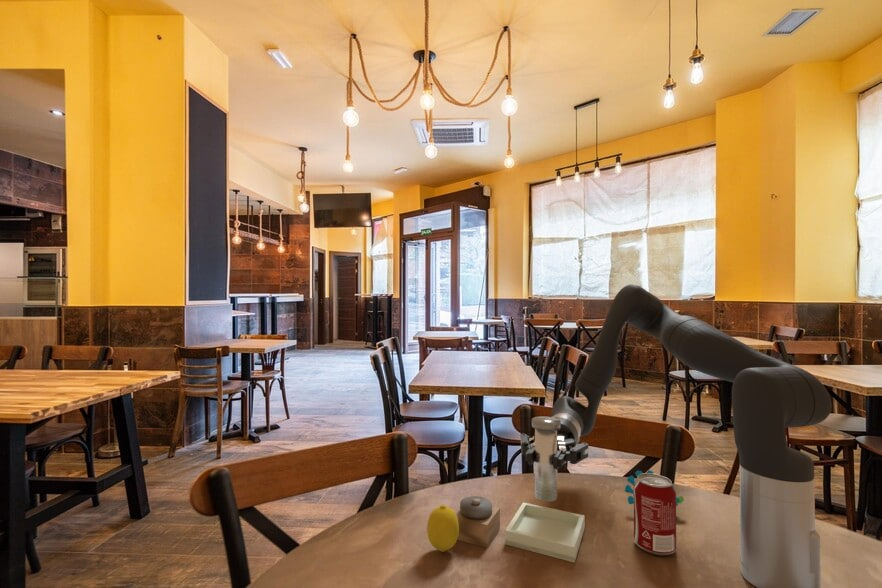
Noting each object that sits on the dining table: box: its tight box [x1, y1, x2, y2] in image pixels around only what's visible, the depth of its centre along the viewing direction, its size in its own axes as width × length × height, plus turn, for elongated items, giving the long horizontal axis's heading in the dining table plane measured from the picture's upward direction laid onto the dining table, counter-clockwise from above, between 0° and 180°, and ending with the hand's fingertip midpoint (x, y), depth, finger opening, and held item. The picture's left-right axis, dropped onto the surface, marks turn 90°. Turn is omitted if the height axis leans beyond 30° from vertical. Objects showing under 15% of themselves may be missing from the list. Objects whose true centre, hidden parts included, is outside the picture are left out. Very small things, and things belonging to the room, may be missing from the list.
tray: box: [504, 502, 586, 563], centre depth 80 cm, size 12×12×2 cm
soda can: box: [633, 472, 677, 557], centre depth 76 cm, size 7×7×12 cm
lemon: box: [426, 504, 459, 553], centre depth 75 cm, size 6×6×8 cm
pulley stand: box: [454, 495, 501, 549], centre depth 80 cm, size 7×7×6 cm
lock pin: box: [531, 415, 560, 503], centre depth 80 cm, size 5×5×14 cm
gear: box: [624, 469, 685, 508], centre depth 90 cm, size 11×6×10 cm
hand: (542, 461), depth 78 cm, fingers closed on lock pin, 4 cm apart
